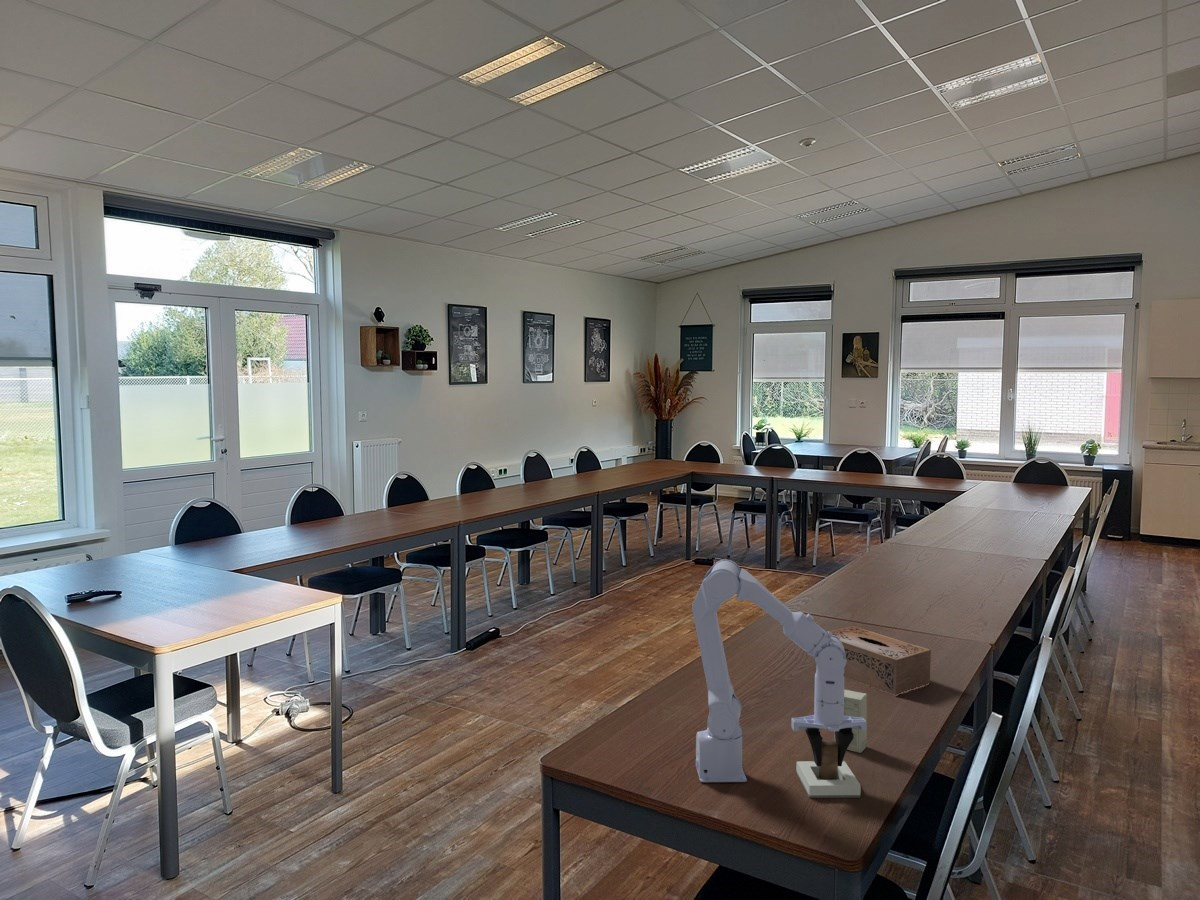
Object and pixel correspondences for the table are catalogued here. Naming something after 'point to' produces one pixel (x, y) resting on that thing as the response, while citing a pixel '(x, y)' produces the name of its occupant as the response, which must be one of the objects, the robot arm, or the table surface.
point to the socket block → (828, 782)
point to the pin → (829, 760)
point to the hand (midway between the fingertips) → (827, 764)
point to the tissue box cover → (883, 660)
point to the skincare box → (856, 708)
